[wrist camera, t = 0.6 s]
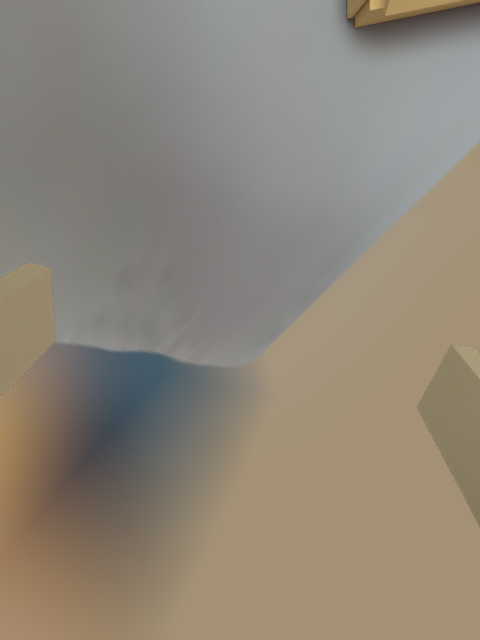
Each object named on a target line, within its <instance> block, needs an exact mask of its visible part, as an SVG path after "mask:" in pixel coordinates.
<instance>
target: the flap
mask: <svg viewBox="0 0 480 640" xmlns="http://www.w3.org/2000/svg"><path fill="white" fill-rule="evenodd" d="M458 1H463V0H387V3H386V6H385V9H384V13H385V16H388V15H393V14H398V13H403V12H408V11H413V10H418V9H423V8H428V7H433V6H438V5H443V4H448V3H453V2H458Z"/></svg>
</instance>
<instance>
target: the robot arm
mask: <svg viewBox="0 0 480 640" xmlns="http://www.w3.org/2000/svg"><path fill="white" fill-rule="evenodd" d="M55 341H56V337H55V323H54V309H53V295H52V281H51V267H45V266H40V265H35V264H30V263H25V264H24V265H22V266H20V267H19V268H17V269H15V270H13V271H12V272H10V273H8V274H7V275H5V276H3V277H2V278H0V398H1V397H2V396H3V395H4V394H5V392H7V390H9V388H10V387H11V386H12V385H13V384H14V383H15V382H16V381H17V380H18V379H19V378H20V377H21V376H22V375H23V374H24V373H25V372H26V371H27V370H28V369H29V368H30V366H31V365H32V364H33V363H34V362H35V361H36V360H37V359H38V358H39V357H40V356H41V355H42V354H43V353H44V352H45V351H46V350H47V349H48V348H49V347H50V346H51V345H52V344H53V343H54V342H55ZM417 409H418V411H419V412H420V414H421V416H422V418H423V420H424V422H425V424H426V426H427V428H428V430H429V432H430V434H431V435H432V437H433V439H434V441H435V443H436V445H437V447H438V449H439V450H440V452H441V455H442V456H443V458H444V460H445V462H446V464H447V466H448V468H449V470H450V472H451V474H452V475H453V477H454V479H455V481H456V483H457V485H458V487H459V489H460V491H461V493H462V495H463V496H464V498H465V500H466V502H467V504H468V506H469V508H470V510H471V512H472V514H473V515H474V518H475V519H476V521H477V523H478V525H479V527H480V355H479V354H478V353H477V352H476V351H475V350H474V348H468V347H463V346H458V345H453V344H451V345H450V347H449V349H448V351H447V353H446V354H445V356H444V358H443V360H442V362H441V364H440V365H439V367H438V369H437V371H436V373H435V375H434V376H433V378H432V380H431V382H430V384H429V386H428V387H427V390H426V391H425V393H424V395H423V397H422V398H421V400H420V402H419V404H418V406H417Z"/></svg>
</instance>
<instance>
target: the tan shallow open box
mask: <svg viewBox="0 0 480 640" xmlns="http://www.w3.org/2000/svg"><path fill="white" fill-rule="evenodd" d="M386 3H387V0H347V19H348V18H353V17H354V28H356V27H361V26H366V25H371V24H376V23H381V22H386V21H392V20H397V19H402V18H407V17H412V16H417V15H422V14H427V13H432V12H437V11H442V10H447V9H452V8H457V7H462V6H467V5H472V4H477V3H480V0H463V1H458V2H453V3H448V4H443V5H438V6H433V7H428V8H423V9H418V10H413V11H408V12H403V13H398V14H393V15H388V16H385V13H384V9H385V6H386Z"/></svg>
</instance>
